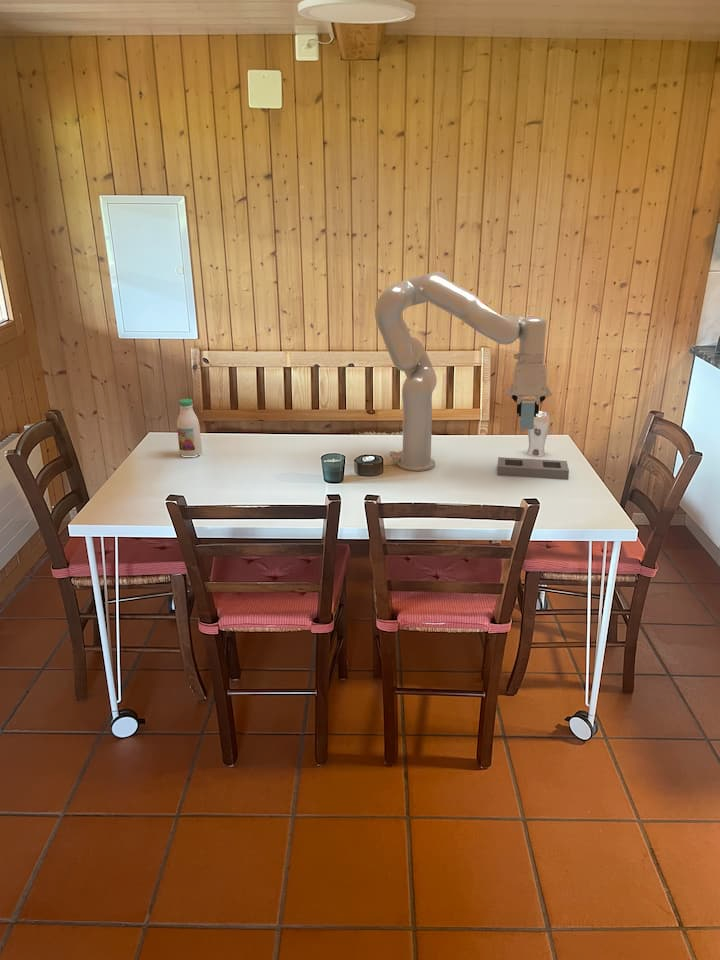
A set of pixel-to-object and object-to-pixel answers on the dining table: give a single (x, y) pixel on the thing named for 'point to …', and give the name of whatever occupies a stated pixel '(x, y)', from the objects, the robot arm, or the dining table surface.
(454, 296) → the robot arm
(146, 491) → the dining table surface
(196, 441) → the milk bottle
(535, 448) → the beer glass
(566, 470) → the panel
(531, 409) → the plug
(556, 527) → the dining table surface
